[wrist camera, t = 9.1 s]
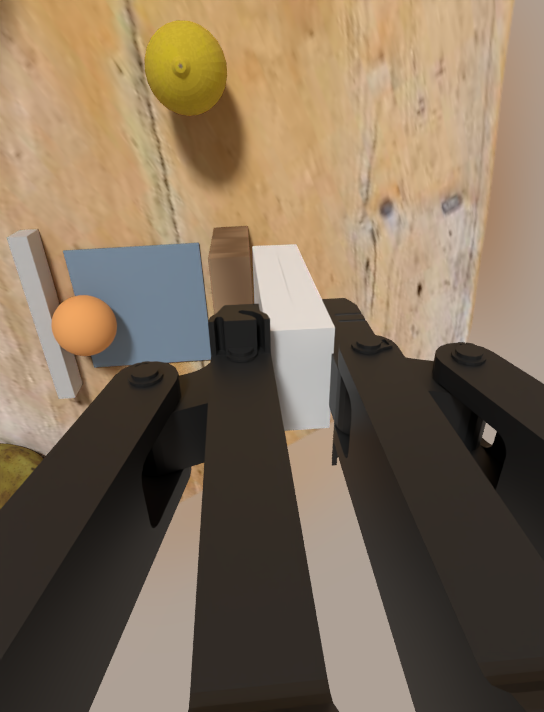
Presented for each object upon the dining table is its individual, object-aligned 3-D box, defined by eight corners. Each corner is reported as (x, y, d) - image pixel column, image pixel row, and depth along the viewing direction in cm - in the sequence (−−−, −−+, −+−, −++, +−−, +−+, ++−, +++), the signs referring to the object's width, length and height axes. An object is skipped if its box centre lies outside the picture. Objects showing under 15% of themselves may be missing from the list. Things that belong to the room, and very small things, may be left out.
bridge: (228, 367, 48) (226, 421, 40) (214, 227, 41) (208, 258, 33) (257, 365, 48) (260, 419, 40) (247, 225, 41) (250, 256, 33)
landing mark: (94, 366, 47) (94, 367, 47) (63, 250, 41) (63, 251, 41) (212, 358, 47) (212, 359, 47) (198, 242, 41) (198, 243, 41)
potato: (-8, 410, 49) (-49, 462, 42) (99, 468, 53) (78, 523, 46) (-43, 457, 51) (-88, 513, 44) (61, 508, 56) (36, 566, 49)
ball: (130, 353, 42) (113, 333, 46) (117, 298, 39) (99, 281, 44) (68, 374, 40) (56, 350, 44) (49, 315, 37) (38, 296, 41)
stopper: (67, 385, 48) (58, 398, 45) (19, 230, 40) (6, 237, 38) (82, 384, 48) (75, 397, 45) (38, 229, 40) (26, 236, 38)
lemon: (238, 98, 36) (239, 97, 29) (174, 125, 37) (159, 130, 30) (210, 16, 33) (203, -7, 26) (141, 47, 34) (116, 32, 27)
